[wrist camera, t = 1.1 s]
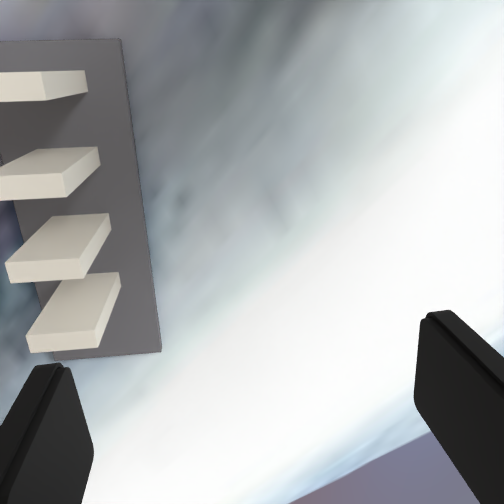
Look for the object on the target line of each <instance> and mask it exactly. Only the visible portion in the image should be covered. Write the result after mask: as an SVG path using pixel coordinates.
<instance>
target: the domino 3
mask: <svg viewBox="0 0 504 504" xmlns="http://www.w3.org/2000/svg"><path fill="white" fill-rule="evenodd" d="M110 231H111V224H110V218H109V213H102V214H84V215H65V216H52V217H51V218H50V219H49V220H48V221H47V222H46V223H45V224H44V225H43V226H42V227H41V228H40V229H39V230H38V231H37V232H36V233H35V234H33V235H32V236H31V237H30V238H29V239H28V240H27V241H26V242H25V243H24V244H23V245H22V246H21V247H20V248H19V249H18V250H17V251H16V252H15V253H14V254H13V255H12V256H11V257H10V258H9V259H8V260H7V261H6V262H5V266H6V269H7V273H8V276H9V280H10V283H24V282H39V281H53V280H68V279H83V278H84V277H85V275H86V273H87V272H88V270H89V268H90V266H91V265H92V263H93V261H94V259H95V257H96V256H97V254H98V252H99V250H100V249H101V247H102V245H103V243H104V242H105V240H106V238H107V236H108V235H109V233H110Z"/></svg>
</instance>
